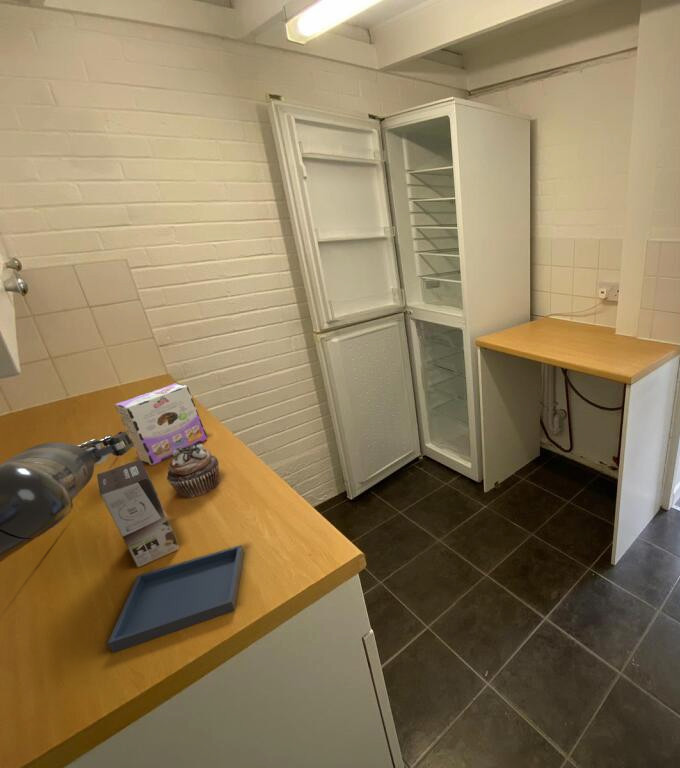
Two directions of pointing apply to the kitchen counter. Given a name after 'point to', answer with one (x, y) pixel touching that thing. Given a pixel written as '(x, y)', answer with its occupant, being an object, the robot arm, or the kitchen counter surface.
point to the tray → (179, 597)
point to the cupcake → (193, 471)
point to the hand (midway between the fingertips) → (75, 453)
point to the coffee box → (137, 512)
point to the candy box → (162, 422)
